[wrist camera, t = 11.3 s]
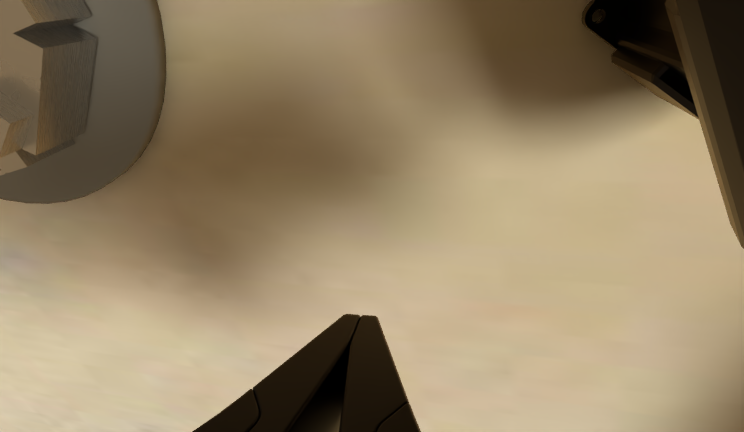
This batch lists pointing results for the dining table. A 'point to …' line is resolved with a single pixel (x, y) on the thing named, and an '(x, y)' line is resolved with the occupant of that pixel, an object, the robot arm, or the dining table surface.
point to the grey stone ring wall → (42, 79)
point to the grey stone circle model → (105, 106)
